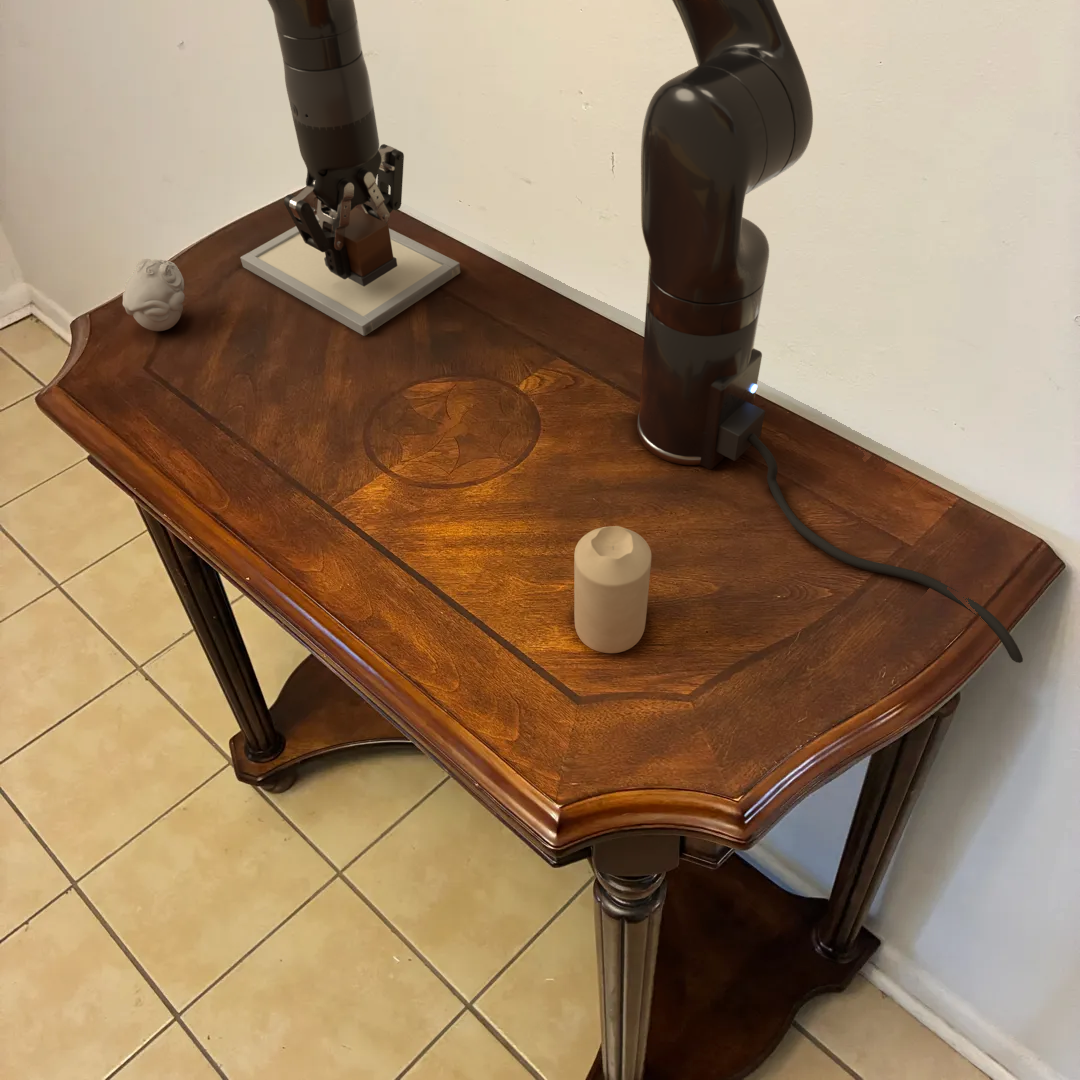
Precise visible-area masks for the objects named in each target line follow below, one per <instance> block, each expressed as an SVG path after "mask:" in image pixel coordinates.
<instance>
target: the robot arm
mask: <svg viewBox="0 0 1080 1080" xmlns="http://www.w3.org/2000/svg"><path fill="white" fill-rule="evenodd" d="M671 1H672V3H673V5H674V7H675V9H676V12H677V13H678V15H679V18H680V20H681V23H682V24H683V27H684V29H685V31H686V34H687V37H688V40H689V43H690V45H691V48H692V52H693V54H694V57H695V60H696V64H697V66H694V67H692V68H691V69H688V70H687V71H685V72H682V73H680V74H678V75H676V76H675V77H672V78H671V79H669V80H667V81H666V82H665V83H663V84H662V85H660V87H658V89H657V90H656V91H655V92H654V93H653V96H652V97H651V99H650V100H649V103H648V106H647V109H646V111H645V115H644V118H643V119H644V120H643V124H642V130H641V131H642V132H641V143H640V222H641V232H642V236H643V240H644V243H645V246H646V250H647V252H648V274H647V291H646V302H645V315H644V316H645V319H644V331H643V347H642V349H643V350H642V361H641V362H642V363H641V380H640V394H639V412H638V415H637V423H636V424H637V426H636V427H637V429H636V431H637V435H638V438H639V440H640V442H641V443H642V445H643V446H644V447H645V448H646V450H648V451H649V452H650V453H652V454H653V455H654V456H656V457H658V458H660V459H662V460H664V461H667V462H670V463H673V464H678V465H686V466H698V465H699V466H702V467H704V468H706V469H708V470H713V469H714V468H715V467H716V466H717V465H719V464H720V462H721V461H723V459H725V457H726V458H728V459H730V460H731V461H734V462H736V461H737V460H738V459H739V458H740V457H741V456H742V455H743V454H744V453H745V452H746V451H747V450H748V449H749V448H750V447H751V446H752V447H753V449H755V451H757V452H758V453H759V455H761V457H762V458H763V459H764V461H765V463H766V465H767V474H766V481H767V485H768V487H769V490H770V492H771V495H772V497H773V499H774V501H775V502H776V503H777V505H778V506H779V508H780V509H781V511H782V512H783V513H784V515H785V517H786V519H787V520H788V522H789V523H790V524H791V526H792V527H793V528H794V530H796V531H797V532H798V534H800V536H802V537H803V538H804V539H806V541H808V542H810V543H811V544H813V545H814V546H815V547H817V548H818V549H819V550H821V551H823V552H824V553H825V554H827V555H829V556H830V557H832V558H834V559H836V560H837V561H840V562H842V563H844V564H846V565H849V566H851V567H854V568H857V569H861V570H863V571H868V572H873V573H878V574H882V575H886V576H890V577H896V578H899V579H904V580H908V581H911V582H913V583H916V584H920V585H922V586H924V587H927V588H929V589H931V590H933V591H935V592H937V593H939V594H940V595H942V596H944V597H946V598H947V599H949V600H951V601H953V602H955V603H956V604H958V605H960V606H961V607H963V608H965V609H966V610H968V611H969V612H971V613H972V614H973V615H975V616H977V615H976V614H975V613H973V612H972V611H971V610H970V609H968V608H967V607H966V606H965V605H964V604H963V603H962V602H961V601H960V600H958V599H957V598H956V597H955V596H954V595H953V594H952V593H951V592H950V591H949V590H947V587H949V588H951V589H953V590H955V591H957V592H959V591H958V590H956V589H954V588H953V587H950V586H949V585H947V584H945V583H943V582H941V581H940V580H937V579H936V578H934V577H931V576H929V575H926V574H924V573H921V572H918V571H915V570H912V569H908V568H904V567H900V566H895V565H891V564H886V563H882V562H876V561H873V560H868V559H865V558H861V557H859V556H856V555H852V554H850V553H849V552H846V551H844V550H842V549H840V548H838V547H837V546H835V545H833V544H832V543H830V542H829V541H827V540H826V539H824V538H822V537H821V536H820V535H818V534H817V533H815V532H814V531H813V530H811V529H810V528H809V527H807V525H805V524H804V523H803V522H802V521H801V520H800V519H799V518H798V517H797V516H796V515H795V513H794V512H793V510H792V509H791V507H790V506H789V504H788V503H787V501H786V499H785V496H784V495H783V493H782V489H781V488H780V486H779V483H778V481H777V475H778V464H777V461H776V458H775V457H774V455H773V454H772V452H771V451H770V449H769V448H768V447H767V446H766V445H765V444H764V443H763V441H761V439H759V438H760V437H761V436H762V430H763V426H764V420H765V414H766V410H765V409H763V408H761V407H759V406H757V405H754V403H755V398H756V391H757V389H758V381H759V375H760V370H761V365H762V359H763V353H762V352H761V350H758V349H757V348H755V341H756V336H757V329H758V323H759V317H760V313H761V307H762V305H761V304H762V301H763V295H764V289H765V284H766V278H767V272H768V266H769V259H770V245H769V240H768V238H767V235H766V234H765V233H764V232H763V230H762V229H761V228H760V227H759V226H758V224H755V222H753V221H751V220H749V219H747V218H745V217H743V213H744V204H745V198H746V195H748V194H749V193H752V192H753V191H754V190H756V189H757V188H759V187H761V186H763V185H764V184H766V183H768V182H769V181H771V180H773V179H774V178H777V177H778V176H779V175H781V174H782V173H784V172H785V171H787V170H788V169H790V168H791V167H793V166H794V165H795V164H796V163H797V162H798V161H799V160H800V159H801V158H802V157H803V156H804V154H805V152H806V151H807V149H808V147H809V144H810V140H811V137H812V132H813V129H814V128H813V126H814V112H813V101H812V97H811V92H810V87H809V84H808V81H807V78H806V75H805V72H804V70H803V67H802V64H801V61H800V59H799V56H798V53H797V52H796V49H795V47H794V45H793V42H792V40H791V37H790V35H789V33H788V31H787V29H786V26H785V24H784V22H783V19H782V17H781V15H780V12H779V10H778V8H777V5H776V3H775V1H774V0H671ZM267 2H268V4H269V7H270V8H271V11H272V13H273V19H274V24H275V30H276V34H277V39H278V43H279V47H280V52H281V56H282V62H283V63H282V64H283V71H284V82H285V88H286V89H285V90H286V94H287V98H288V102H289V107H290V111H291V117H292V121H293V125H294V130H295V134H296V139H297V144H298V148H299V153H300V156H301V158H302V161H303V162H304V163H303V164H305V168H306V178H305V187H304V188H303V190H301V191H300V192H299V193H298V194H297V195H296V196H295V195H293V194H287V195H286V196H285V197H284V199H283V202H284V203H283V205H284V206H285V208H286V210H287V211H288V212H287V213H288V214H289V215H290V217H291V219H292V221H293V223H294V225H295V226H296V227H297V229H298V231H299V232H300V234H301V236H302V238H303V240H304V242H305V243H306V244H308V245H310V246H312V247H314V248H315V249H317V250H319V251H321V252H325V255H326V260H327V263H328V264H327V265H328V269H329V270H330V271H331V272H332V273H334V274H336V275H337V276H339V277H341V278H343V279H347V278H348V277H350V276H351V271H350V266H349V261H348V256H347V250H346V246H344V237H345V228H346V227H347V226H348V225H349V219H350V211H351V210H352V209H353V208H354V207H355V208H356V207H357V206H359V205H360V206H361V208H362V209H363V212H365V213H367V214H369V215H371V216H373V217H375V218H377V219H379V220H381V221H383V222H385V223H387V224H388V222H389V220H390V214H391V213H392V212H393V210H394V211H398V210H399V209H400V208H401V206H402V199H403V197H402V196H403V195H402V194H403V179H404V161H405V154H404V152H403V151H401V150H398V149H397V148H396V147H393V146H391V145H387V144H385V143H383V144H381V145H380V139H379V132H378V125H377V120H376V119H377V118H376V113H375V107H374V100H373V94H372V93H373V92H372V86H371V80H370V76H369V71H368V67H367V63H366V61H365V58H364V57H365V56H364V53H363V48H362V40H361V35H360V28H359V22H358V14H357V10H356V9H357V8H356V5H355V0H267ZM389 189H390V190H389ZM389 192H390V193H389ZM316 199H317V207H316V206H315V201H316ZM331 209H332V210H334V211H336V212H337V214H336V213H334V212H332V210H331ZM315 215H317V216H318V218H319V220H320V224H319V222H318V220H317V218H316V216H315ZM332 227H333V233H331V230H332ZM963 598H964V597H963ZM969 598H970V597H968V599H967V598H966V599H967V600H968V602H969V603H968V604H970V606H971V607H972V608H973V609H975V611H976V612H978V614H979V616H981V618H982V619H983V620H984V621H985V622H986V623H987V624H988V625H987V624H986V623H985V622H984V621H983V620H982V619H981V618H979V619H980V620H982V621H983V622H984V623H985V624H986V625H987V626H988V627H989V628H990V629H991V630H992V632H994V634H995V635H996V636H997V638H998V639H999V640H1000V642H1001V643H1002V645H1003V646H1004V649H1005V650H1006V652H1007V654H1008V655H1009V658H1010V659H1011V660H1012V661H1013V662H1015V663H1019V664H1021V663H1023V661H1024V659H1023V655H1022V653H1021V650H1020V649H1019V647H1018V645H1017V643H1016V640H1014V638H1013V636H1012V635H1011V633H1010V632H1009V631H1008V629H1007V628H1006V627H1005V626H1004V625H1003V623H1002V622H1001V621H1000V620H999V619H998V618H997V617H996V616H995V615H994V614H993V613H991V612H990V611H989V610H988V609H987V608H985V607H984V606H982V605H981V604H979V603H977V601H975V600H974V599H972V598H970V599H969ZM966 599H965V600H966ZM971 599H972V600H971ZM974 601H975V602H974ZM966 602H967V601H966Z"/></svg>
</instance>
